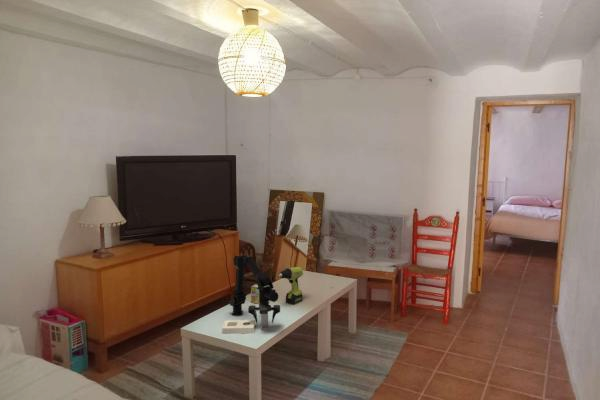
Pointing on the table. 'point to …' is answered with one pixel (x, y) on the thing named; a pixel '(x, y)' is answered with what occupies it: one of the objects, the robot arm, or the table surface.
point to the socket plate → (238, 326)
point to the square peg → (264, 320)
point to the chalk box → (255, 294)
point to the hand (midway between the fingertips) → (264, 322)
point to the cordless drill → (293, 284)
